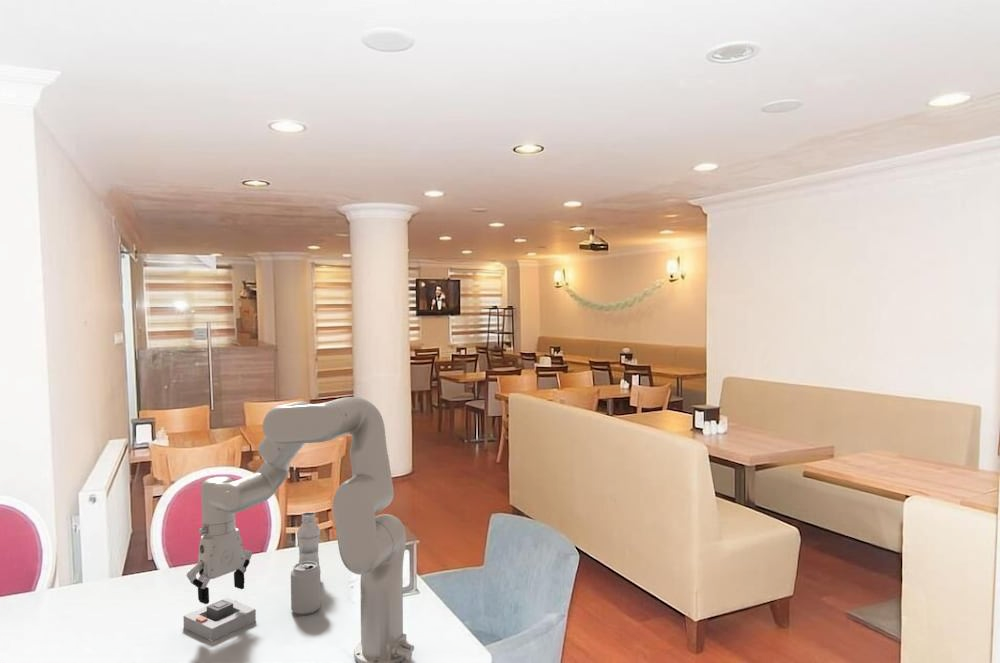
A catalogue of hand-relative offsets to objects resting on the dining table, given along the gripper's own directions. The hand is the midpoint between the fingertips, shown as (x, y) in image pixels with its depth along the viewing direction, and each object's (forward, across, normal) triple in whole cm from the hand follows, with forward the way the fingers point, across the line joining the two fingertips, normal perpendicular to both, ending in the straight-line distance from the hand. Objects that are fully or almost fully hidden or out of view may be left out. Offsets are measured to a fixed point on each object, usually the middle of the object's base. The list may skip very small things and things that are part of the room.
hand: (222, 595), depth 160 cm
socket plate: (+7, 0, +1) cm, 8 cm away
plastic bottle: (+8, +29, +2) cm, 30 cm away
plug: (+8, 0, +1) cm, 8 cm away
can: (+8, +17, -11) cm, 22 cm away
